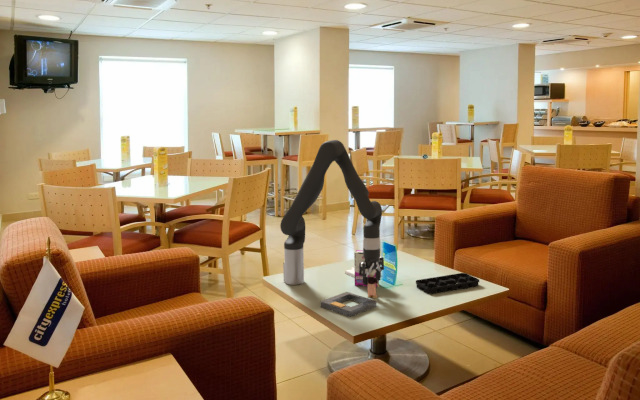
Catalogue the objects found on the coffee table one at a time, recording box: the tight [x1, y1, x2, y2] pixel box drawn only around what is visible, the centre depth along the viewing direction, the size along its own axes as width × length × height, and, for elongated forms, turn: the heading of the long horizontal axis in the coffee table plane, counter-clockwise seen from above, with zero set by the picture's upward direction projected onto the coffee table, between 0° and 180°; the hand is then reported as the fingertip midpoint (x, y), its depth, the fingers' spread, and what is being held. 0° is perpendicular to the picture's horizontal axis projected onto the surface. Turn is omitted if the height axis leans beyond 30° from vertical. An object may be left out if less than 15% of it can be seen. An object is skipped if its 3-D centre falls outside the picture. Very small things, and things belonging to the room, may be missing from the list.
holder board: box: [319, 291, 377, 318], centre depth 231 cm, size 17×16×3 cm
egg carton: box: [415, 272, 480, 295], centre depth 255 cm, size 18×30×4 cm, turn 125°
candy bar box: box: [354, 249, 380, 288], centre depth 258 cm, size 11×5×16 cm, turn 76°
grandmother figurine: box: [367, 269, 380, 299], centre depth 242 cm, size 8×4×13 cm, turn 74°
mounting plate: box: [344, 266, 355, 279], centre depth 275 cm, size 18×13×2 cm
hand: (371, 282), depth 242 cm, fingers open, 8 cm apart
